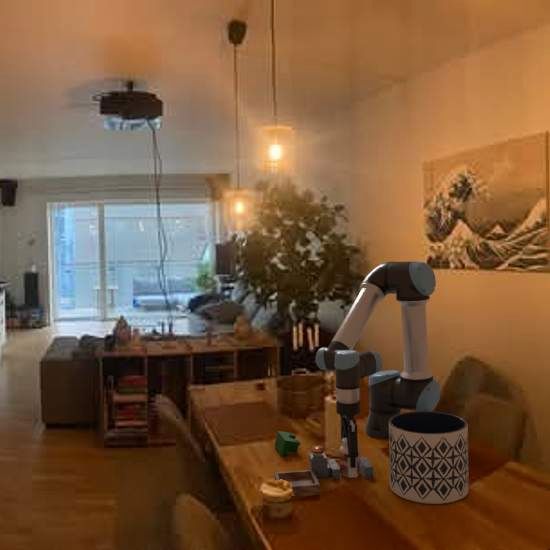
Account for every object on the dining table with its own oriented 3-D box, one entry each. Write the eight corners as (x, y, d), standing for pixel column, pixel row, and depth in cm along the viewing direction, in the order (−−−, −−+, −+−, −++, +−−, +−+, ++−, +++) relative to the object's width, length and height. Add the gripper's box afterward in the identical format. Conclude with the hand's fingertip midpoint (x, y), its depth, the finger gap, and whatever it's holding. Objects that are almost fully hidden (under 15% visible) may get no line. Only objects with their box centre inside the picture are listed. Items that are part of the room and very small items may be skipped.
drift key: (323, 467, 202) (322, 445, 202) (325, 472, 198) (325, 449, 198) (311, 468, 202) (310, 445, 201) (313, 473, 198) (312, 450, 197)
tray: (313, 479, 198) (312, 469, 198) (319, 494, 186) (319, 484, 186) (274, 481, 197) (274, 472, 196) (278, 497, 185) (278, 487, 185)
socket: (366, 467, 206) (366, 447, 206) (373, 478, 197) (372, 457, 197) (308, 471, 204) (307, 451, 204) (312, 482, 195) (312, 461, 195)
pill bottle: (336, 475, 201) (335, 440, 200) (347, 469, 205) (346, 435, 205) (352, 479, 197) (351, 444, 196) (363, 473, 201) (362, 438, 201)
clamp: (294, 466, 221) (302, 446, 218) (278, 464, 220) (285, 443, 216) (289, 443, 232) (297, 423, 228) (274, 441, 231) (281, 421, 227)
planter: (456, 512, 172) (454, 438, 170) (378, 496, 183) (376, 427, 182) (477, 483, 190) (476, 416, 189) (405, 470, 202) (404, 407, 201)
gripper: (330, 393, 209) (332, 461, 211) (342, 409, 189) (344, 485, 191) (352, 392, 210) (354, 460, 211) (367, 408, 190) (369, 483, 191)
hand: (349, 472), depth 201 cm, fingers open, 7 cm apart
